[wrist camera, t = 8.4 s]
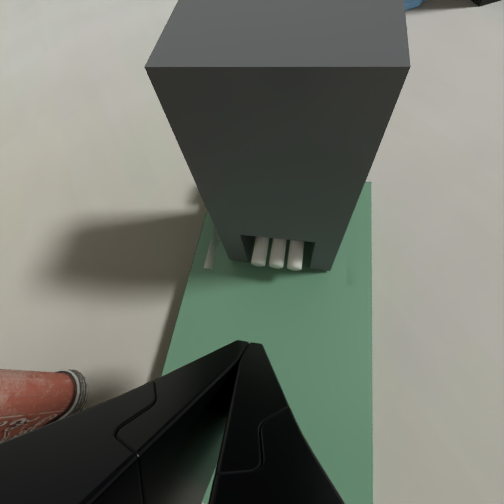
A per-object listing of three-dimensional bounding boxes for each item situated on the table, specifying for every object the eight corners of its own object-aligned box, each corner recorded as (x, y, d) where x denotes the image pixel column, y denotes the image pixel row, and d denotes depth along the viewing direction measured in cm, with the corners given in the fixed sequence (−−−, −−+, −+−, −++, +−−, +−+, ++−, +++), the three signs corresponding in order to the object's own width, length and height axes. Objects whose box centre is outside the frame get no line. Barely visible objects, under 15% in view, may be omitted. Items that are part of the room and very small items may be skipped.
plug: (330, 271, 17) (410, 66, 6) (229, 259, 18) (144, 67, 7) (334, 201, 19) (399, -44, 8) (243, 194, 20) (194, -32, 9)
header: (330, 283, 17) (340, 262, 14) (226, 270, 18) (214, 248, 15) (337, 174, 20) (345, 138, 17) (248, 169, 21) (242, 134, 18)
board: (365, 534, 13) (372, 547, 12) (143, 476, 15) (131, 483, 14) (366, 192, 21) (371, 182, 19) (220, 182, 22) (217, 172, 21)
